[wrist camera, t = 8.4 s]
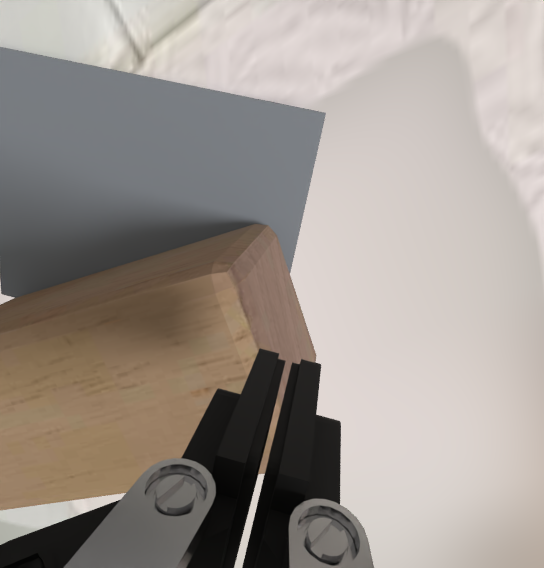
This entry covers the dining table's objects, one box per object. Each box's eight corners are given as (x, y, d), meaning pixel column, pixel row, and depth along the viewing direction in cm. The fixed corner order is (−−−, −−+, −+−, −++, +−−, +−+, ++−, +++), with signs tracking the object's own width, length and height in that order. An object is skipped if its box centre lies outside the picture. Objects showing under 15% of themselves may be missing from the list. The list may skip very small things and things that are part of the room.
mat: (325, 113, 22) (325, 112, 22) (270, 361, 28) (269, 364, 27) (-5, 46, 24) (-11, 44, 24) (5, 292, 30) (1, 293, 29)
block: (274, 215, 24) (14, 296, 29) (230, 262, 15) (-142, 368, 20) (321, 360, 27) (75, 412, 32) (309, 478, 17) (-37, 523, 22)
